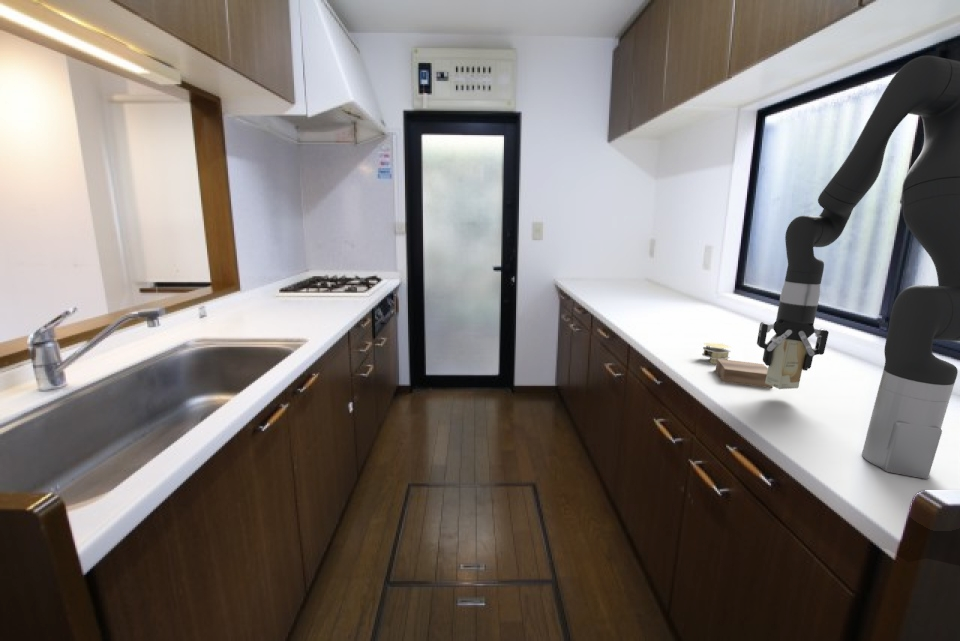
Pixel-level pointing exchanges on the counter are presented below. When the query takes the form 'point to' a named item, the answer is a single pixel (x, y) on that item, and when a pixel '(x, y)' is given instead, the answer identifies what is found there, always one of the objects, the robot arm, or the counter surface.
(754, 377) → the walnut block
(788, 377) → the skincare box
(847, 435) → the counter surface
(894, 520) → the counter surface
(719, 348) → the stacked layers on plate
